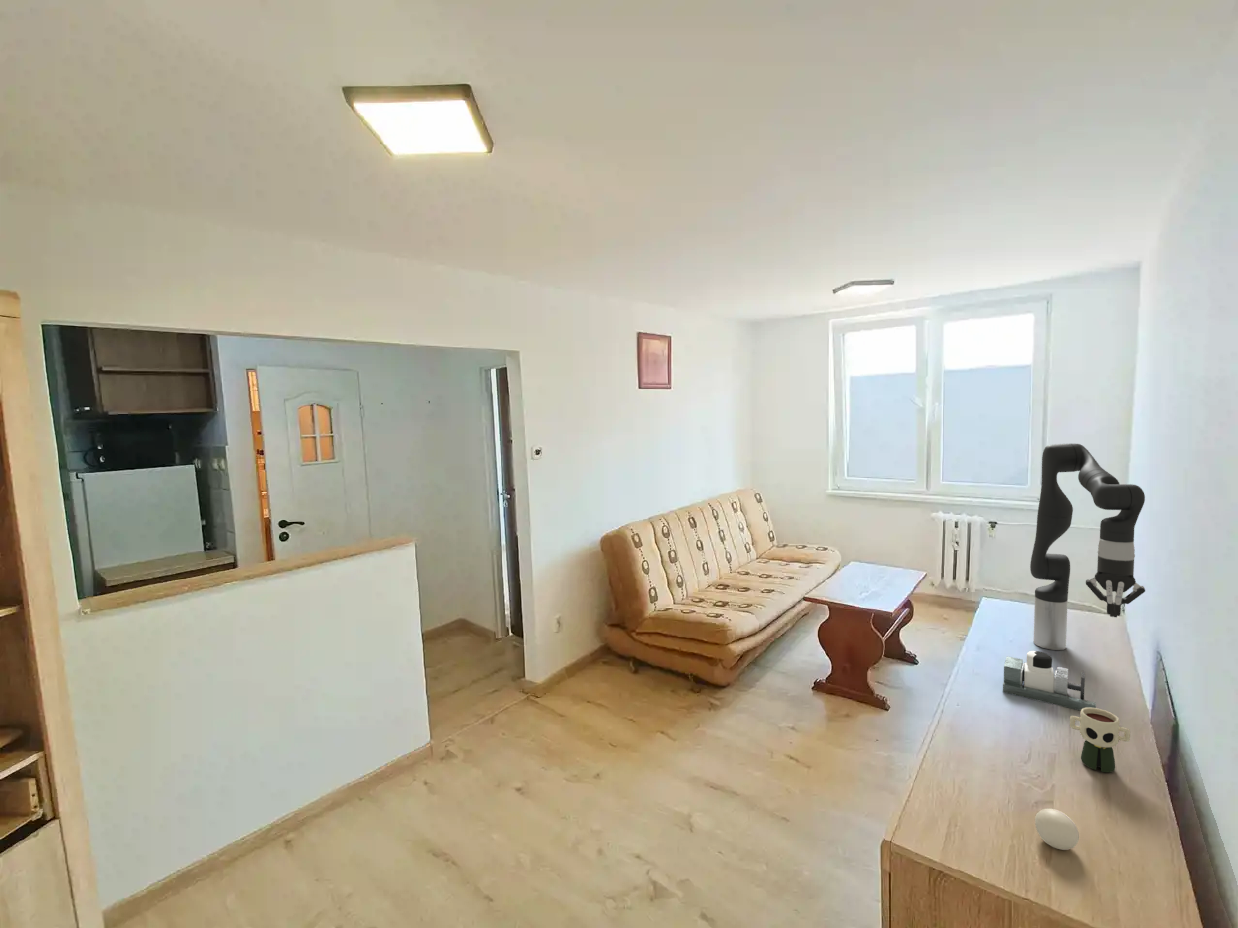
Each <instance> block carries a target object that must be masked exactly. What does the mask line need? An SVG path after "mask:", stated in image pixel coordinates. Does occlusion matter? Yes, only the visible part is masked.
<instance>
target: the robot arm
mask: <svg viewBox="0 0 1238 928" xmlns="http://www.w3.org/2000/svg"><path fill="white" fill-rule="evenodd" d="M1042 451H1043V452H1042V457H1041V485H1040V496H1039V502H1038V509H1037V516H1036V529H1035V539H1034V543H1033V548H1032V553H1031V557H1030V564H1029V565H1030V566H1029V567H1030V568H1029V569H1030V574H1031V576H1032V577H1033V578H1035V579H1037V580H1046V581H1047V580H1048V581H1052V582H1051V583H1049V584H1045V585H1041V586H1039V587H1036V588H1035V590H1034V613H1033V614H1034V615H1033V618H1034V619H1033V622H1034V623H1033V644H1035V646H1038V647H1040V648H1043V649H1047V650H1050V651H1051V650H1052V651H1063V650H1066V648H1067V629H1068V627H1067V626H1068V599H1069V598H1068V597H1069V588H1070V587H1069V586H1070V585H1069V584H1070V576H1071V561H1070V558H1069V556H1067V555H1065V554H1059V553H1047V552H1048V551H1049V548H1050V547H1051V546H1052V545H1053V544H1054V543H1055V542H1056V541H1057V540H1059V538H1060V537H1062V536H1063V535H1064V534H1065V533H1066V532H1067V531H1068V530H1069V528H1070V527H1071V525H1072V520H1073V511H1074V508H1073V505H1072V503H1071V501H1070V499H1069V498H1068V497H1067V495H1066V494H1065V493H1064V492H1063V490H1062V488H1061V487H1060V486H1059V483H1058V474H1059V473H1076V472H1078V477H1077V478H1078V482H1079V484H1080V485H1081V487H1082V488H1084V489H1085V490H1086V491H1088V492H1089V493H1090V495H1091V497H1092V499H1093V500H1092V501H1093V503H1094V505H1095V506H1096V507H1097V508H1099V509H1102V510H1106V511H1120V512H1119V513H1118V514H1117V515H1115V516H1111V517H1106V518H1103V519H1101V520H1100V525H1099V527H1100V528H1099V541H1098V545H1097V546H1098V547H1097V548H1098V549H1097V567H1096V568H1097V570H1096V573H1095V574H1094V577H1092V578H1091V579H1090V578H1089V579H1086V580H1085V585H1086V586H1087V587H1088V589H1089V590H1091V592H1092V593H1093V594H1094V595H1095V597H1097V599H1098V600H1099V601H1103V602H1106V603H1107V604H1106V613H1107V615H1109V617H1112V618H1118V617H1120V616H1121V610H1122V609H1121V607H1122V605H1129V604H1130V603H1132V602H1133V601H1134V600H1136V599H1137V598H1139V597H1140V596H1141V595H1143V594H1144V593H1145V592H1146V589H1145V586H1144V585H1140V584H1139V583H1137V582H1136V578H1135V576H1134V572H1135V557H1136V554H1135V552H1136V551H1135V542H1134V541H1135V528H1136V525H1137V523H1138V522H1137V521H1138V519H1139V516H1140V513H1141V512H1142V509H1143V508H1144V505H1145V501H1146V496H1145V492H1144V490H1143V489H1142V488H1141V486H1139V485H1137V484H1133V483H1132V484H1131V483H1130V484H1127V483H1126V484H1120V482H1119V480H1118V479H1117V478H1116V477H1115V476H1114V475H1112V474H1111V473H1110V472H1108V471H1107V470H1106V469H1104V468H1103V467H1101V465H1100V464H1099V463H1098V462H1097V460H1096V459H1095V457H1094V456H1093V455H1092V453H1090V451H1089V450H1088V449H1087V448H1086V447H1085V446H1084V445H1082V444H1080V443H1055V444H1049V445H1046V446H1045V447H1044V449H1043V450H1042ZM1098 584H1099V586H1101V587H1102V589H1103V590H1105V592H1106V595H1105V594H1104V593H1102V592H1101V590H1100V589H1099V588H1098V587H1097V586H1098ZM1131 588H1132V591H1131V592H1130V593H1128V594H1127V595H1126V596H1124V597H1123V594H1124V593H1125V592H1127V591H1128V590H1130V589H1131ZM1113 593H1115V597H1114V599H1113Z"/></svg>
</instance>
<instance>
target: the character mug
mask: <svg viewBox="0 0 1238 928" xmlns="http://www.w3.org/2000/svg"><path fill="white" fill-rule="evenodd" d="M1076 721H1077V722H1079V725H1076ZM1120 721H1121V720H1120V718H1119V716H1117V715H1116V714H1114V713H1113V712H1110V711H1108V710H1106V709H1101V708H1097V707H1096V708H1083V709H1082V710H1081V711H1080V716H1076V715H1070V717H1069V727H1070V728H1071V729H1072V730H1077V731H1079V733H1080V735H1081V737H1082V739H1084V742H1083V745H1082V749H1081V754H1080V759H1081V762H1082V764H1084V765H1085V766H1086V767H1088V768H1090V769H1092V770H1095V771H1097V767H1098V768H1100V772H1102V773H1112V772H1115V770H1116V762H1115V755H1114V753H1115V752H1114V747H1117V745H1118V744H1119V741H1122V742H1126V743H1129V742H1130V740H1131V730H1130V729H1129V728H1126V727H1122V726H1120ZM1120 732H1124V735H1123V736H1121V735H1120Z"/></svg>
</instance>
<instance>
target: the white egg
mask: <svg viewBox="0 0 1238 928" xmlns="http://www.w3.org/2000/svg"><path fill="white" fill-rule="evenodd" d="M1034 825H1035V829H1036V832H1037V833H1038V836H1039V838H1041V840H1043V842H1044V843H1046V844H1047V845H1048V846H1050V847H1052V848H1053V849H1057V850H1060V851H1061V850H1063V851H1067V850H1071V849H1073V848H1075V846H1077V844H1078V842H1079V840H1080V833H1079V829H1078V827H1077V825H1076V823H1075V822H1074V821H1073V819H1071V817H1069V816H1068V815H1067V814H1066V813H1064V812H1063V811H1061V810H1058V809H1055V808H1043V809H1041V810H1039V811H1038V812H1037V813H1036V814H1035V818H1034Z"/></svg>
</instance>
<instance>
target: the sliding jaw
mask: <svg viewBox="0 0 1238 928" xmlns="http://www.w3.org/2000/svg"><path fill="white" fill-rule="evenodd" d="M1080 671H1081V672H1080V684H1078V683H1074V682H1069V681H1068V680H1069V668H1065V667H1060V666H1057V667H1056V669H1055V670H1054V677H1055V678H1054V693H1056V694H1060V695H1064V696H1068V689H1069V690H1073V691H1077V692H1080V693H1079V694H1080V695H1079V696H1080V698H1079V699H1082V700H1085V685H1086V684H1085V682H1086V680H1085V679H1086V676H1085V675H1086V671H1085V670H1080Z"/></svg>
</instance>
